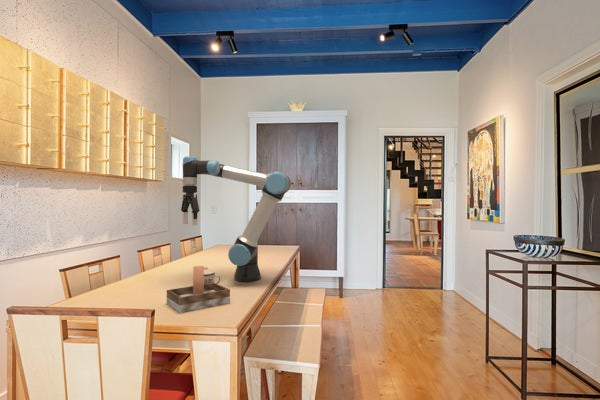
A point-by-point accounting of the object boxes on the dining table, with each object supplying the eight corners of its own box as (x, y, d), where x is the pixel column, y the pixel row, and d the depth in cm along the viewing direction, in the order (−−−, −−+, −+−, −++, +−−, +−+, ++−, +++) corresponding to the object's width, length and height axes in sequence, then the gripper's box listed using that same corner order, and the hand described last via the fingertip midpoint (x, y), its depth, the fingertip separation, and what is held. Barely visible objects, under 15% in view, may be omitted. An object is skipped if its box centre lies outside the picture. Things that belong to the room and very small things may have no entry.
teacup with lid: (197, 293, 168) (197, 269, 168) (194, 289, 176) (194, 266, 176) (222, 290, 173) (222, 267, 173) (218, 286, 181) (218, 264, 181)
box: (214, 295, 165) (214, 282, 165) (229, 303, 152) (229, 289, 152) (166, 303, 151) (166, 289, 151) (179, 313, 138) (179, 298, 139)
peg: (201, 301, 155) (201, 265, 155) (205, 303, 151) (205, 266, 151) (191, 303, 152) (191, 266, 152) (195, 305, 149) (195, 268, 149)
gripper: (175, 186, 197) (175, 223, 196) (191, 184, 177) (191, 226, 177) (188, 186, 201) (188, 223, 201) (205, 184, 182) (205, 225, 182)
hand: (189, 224), depth 189 cm, fingers open, 13 cm apart
